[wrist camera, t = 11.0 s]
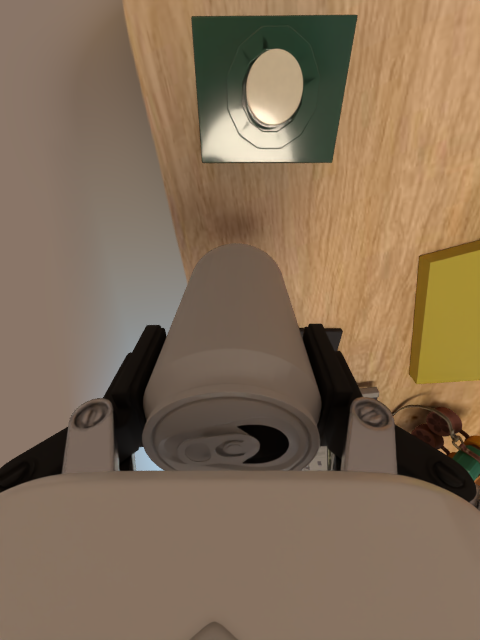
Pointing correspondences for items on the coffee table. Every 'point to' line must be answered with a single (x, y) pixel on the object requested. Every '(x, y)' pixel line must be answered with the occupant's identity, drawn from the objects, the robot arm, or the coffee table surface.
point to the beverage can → (233, 373)
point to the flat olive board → (447, 316)
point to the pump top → (274, 87)
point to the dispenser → (231, 77)
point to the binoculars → (473, 452)
